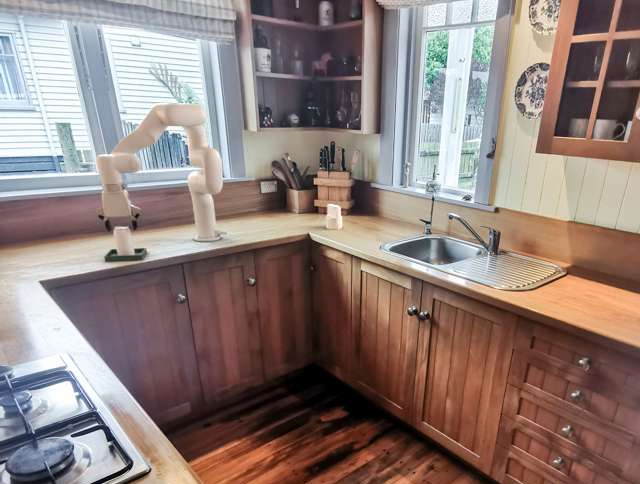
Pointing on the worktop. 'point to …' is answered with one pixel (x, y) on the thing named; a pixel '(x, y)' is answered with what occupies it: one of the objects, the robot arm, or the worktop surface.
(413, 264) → the worktop surface
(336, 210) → the cylinder with rectangular tab
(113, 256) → the tray
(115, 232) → the can
